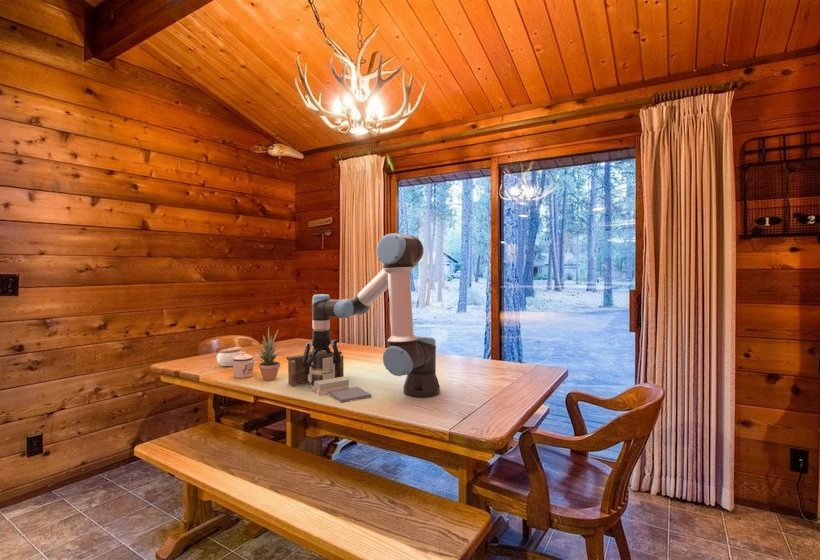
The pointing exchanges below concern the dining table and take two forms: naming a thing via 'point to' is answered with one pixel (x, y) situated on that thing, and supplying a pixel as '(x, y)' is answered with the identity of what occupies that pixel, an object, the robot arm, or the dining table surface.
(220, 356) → the lidded bowl
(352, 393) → the slate mat
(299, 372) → the walnut rack
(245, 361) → the teacup with lid
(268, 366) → the potted plant
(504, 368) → the dining table surface
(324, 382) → the upper offcut
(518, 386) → the dining table surface
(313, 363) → the coffee can
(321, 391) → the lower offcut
